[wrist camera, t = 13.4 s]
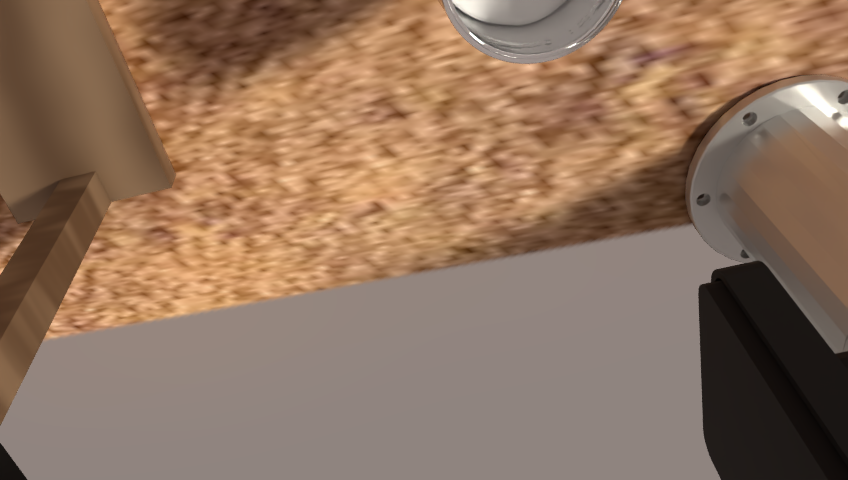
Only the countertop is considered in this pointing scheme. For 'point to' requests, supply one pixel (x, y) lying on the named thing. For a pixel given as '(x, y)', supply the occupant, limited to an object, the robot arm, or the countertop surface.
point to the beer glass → (529, 26)
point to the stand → (62, 158)
